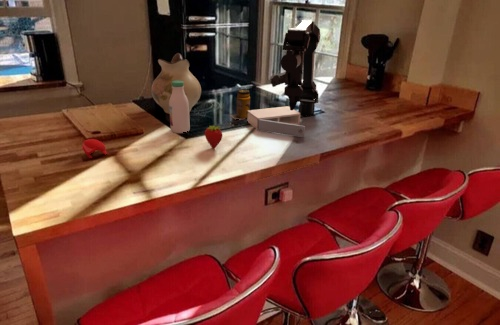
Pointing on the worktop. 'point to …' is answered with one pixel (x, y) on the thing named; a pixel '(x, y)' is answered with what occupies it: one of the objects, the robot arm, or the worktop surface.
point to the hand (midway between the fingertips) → (291, 108)
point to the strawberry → (213, 135)
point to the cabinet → (274, 115)
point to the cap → (93, 147)
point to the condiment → (242, 104)
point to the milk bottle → (179, 109)
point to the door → (281, 128)
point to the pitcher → (175, 73)
